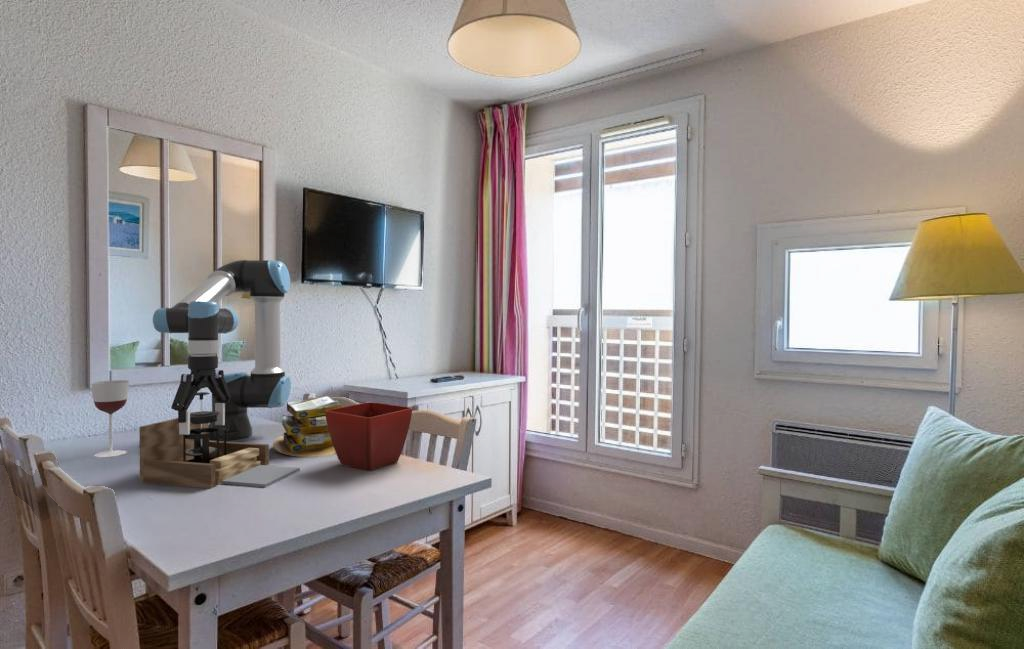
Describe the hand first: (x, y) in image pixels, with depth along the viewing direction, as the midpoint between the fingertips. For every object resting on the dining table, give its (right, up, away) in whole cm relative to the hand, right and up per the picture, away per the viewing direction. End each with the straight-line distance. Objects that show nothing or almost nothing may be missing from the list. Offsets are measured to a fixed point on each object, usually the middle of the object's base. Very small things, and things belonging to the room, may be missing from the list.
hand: (202, 429), depth 160 cm
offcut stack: (+10, -13, -1) cm, 16 cm away
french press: (0, -13, +1) cm, 13 cm away
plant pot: (+45, -13, +12) cm, 48 cm away
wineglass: (-41, -12, +20) cm, 47 cm away
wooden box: (+1, -12, 0) cm, 12 cm away
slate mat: (+18, -13, -3) cm, 23 cm away
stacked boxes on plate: (+20, -12, +31) cm, 39 cm away
